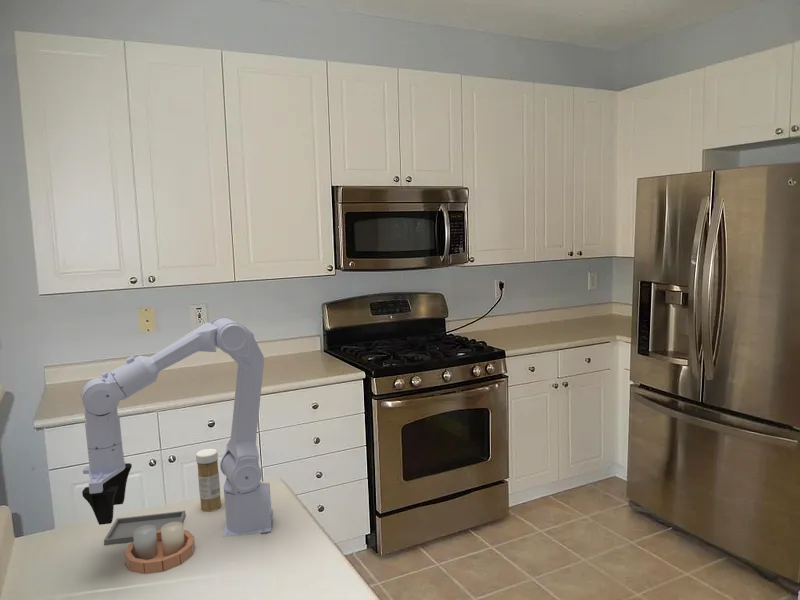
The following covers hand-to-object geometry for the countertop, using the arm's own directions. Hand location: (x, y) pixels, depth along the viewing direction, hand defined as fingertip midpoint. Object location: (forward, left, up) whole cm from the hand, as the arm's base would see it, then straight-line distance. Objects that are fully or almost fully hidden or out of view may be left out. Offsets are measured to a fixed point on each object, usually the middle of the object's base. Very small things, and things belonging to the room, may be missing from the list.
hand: (111, 513), depth 110 cm
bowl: (-8, 0, -10) cm, 13 cm away
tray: (-3, -11, -10) cm, 15 cm away
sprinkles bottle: (-15, -18, -10) cm, 26 cm away
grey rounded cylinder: (-5, 0, -9) cm, 11 cm away
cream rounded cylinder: (-10, 0, -9) cm, 14 cm away
